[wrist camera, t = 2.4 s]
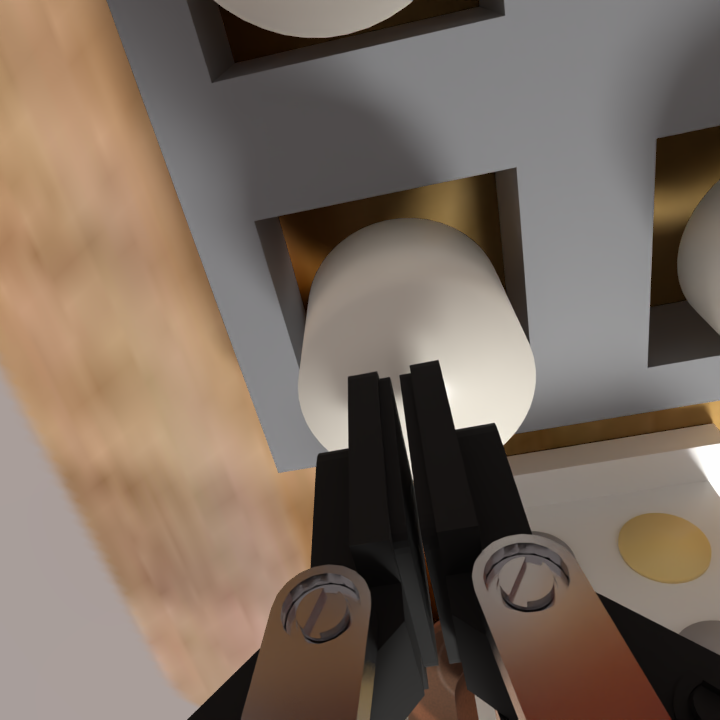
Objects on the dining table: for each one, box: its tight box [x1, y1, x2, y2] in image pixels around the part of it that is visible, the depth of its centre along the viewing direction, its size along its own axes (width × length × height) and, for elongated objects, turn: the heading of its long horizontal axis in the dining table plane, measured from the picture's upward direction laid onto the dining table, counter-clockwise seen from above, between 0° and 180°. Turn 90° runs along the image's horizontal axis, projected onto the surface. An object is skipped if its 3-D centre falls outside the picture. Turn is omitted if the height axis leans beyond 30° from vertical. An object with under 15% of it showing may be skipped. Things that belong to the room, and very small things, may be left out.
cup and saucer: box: [408, 620, 479, 720], centre depth 26 cm, size 12×12×6 cm
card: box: [475, 423, 720, 720], centre depth 19 cm, size 10×3×10 cm, turn 102°
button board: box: [107, 0, 720, 473], centre depth 14 cm, size 18×18×3 cm
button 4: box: [298, 218, 536, 479], centre depth 14 cm, size 5×5×4 cm
